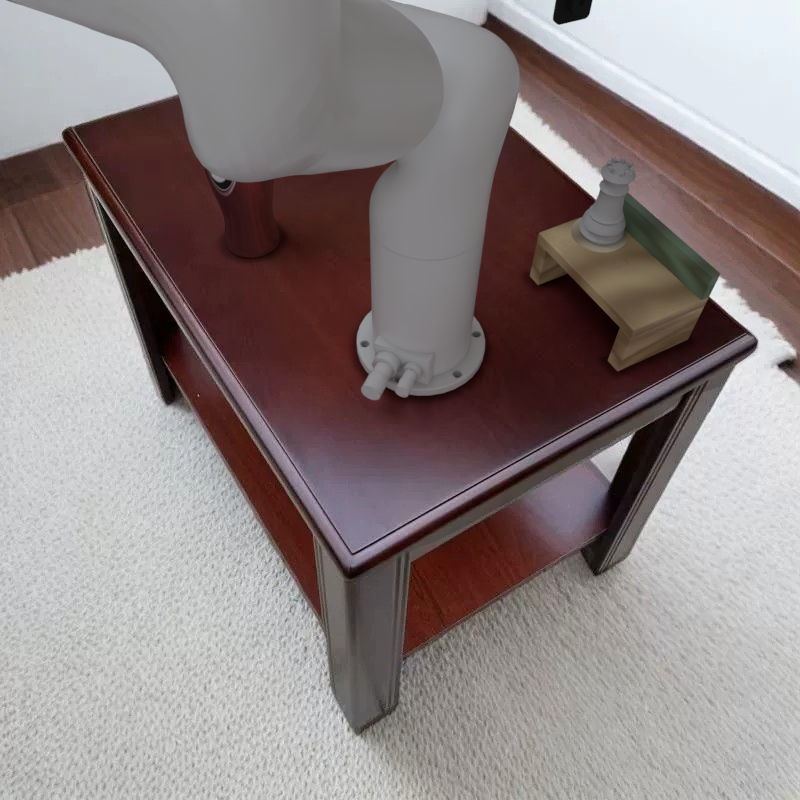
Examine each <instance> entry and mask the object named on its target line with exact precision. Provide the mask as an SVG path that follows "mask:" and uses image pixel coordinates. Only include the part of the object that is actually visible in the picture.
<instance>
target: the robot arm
mask: <svg viewBox="0 0 800 800" xmlns="http://www.w3.org/2000/svg"><path fill="white" fill-rule="evenodd" d="M6 2H10V3H12V4H16V5H19V6H22V7H24V8H28V9H31V10H34V11H36V12H40V13H43V14H46V15H49V16H53V17H56V18H58V19H62V20H65V21H68V22H70V23H73V24H76V25H78V26H82V27H84V28H87V29H89V30H92V31H94V32H96V33H97V32H98V33H100V34H104V35H106V36H108V37H111V38H115V39H118V40H121V41H124V42H128V43H131V44H133V45H136V46H137V47H139V48H141V49H143V50H145V51H146V52H148V53H149V54H150V55H152V56H153V58H154V59H155V60H156V61H158V63H160V65H161V66H162V67H163V69H164V71H166V73H167V74H168V76H169V78H170V80H171V82H172V84H173V85H174V88H175V90H176V92H177V95H178V98H179V101H180V105H181V109H182V115H183V120H184V127H185V131H186V133H187V134H186V135H187V138H188V141H189V144H190V147H191V149H192V151H193V154H194V156H195V157H196V159H197V160H198V161H199V163H200V164H201V166H203V168H204V167H205V168H206V169H208V170H209V171H210V172H211V173H213V174H214V175H217V176H219V177H221V178H224V179H226V180H231V181H237V182H259V181H266V180H271V179H274V180H275V179H280V178H284V177H285V178H286V177H291V176H308V175H310V176H311V175H320V174H327V173H334V172H342V171H344V172H345V171H351V170H361V169H368V168H369V169H370V168H374V167H377V166H378V167H379V166H383V165H386V164H389V163H391V164H390V165H389V166H388V167H387V168H386V169H385V170H384V171H383V173H382V174H381V175H379V177H378V179H377V181H376V182H375V184H374V186H373V188H372V191H371V194H370V198H369V205H368V206H369V207H368V215H369V216H368V217H369V219H368V221H369V254H370V255H369V257H370V259H369V260H370V299H371V301H370V303H371V309H370V311H369V312H368V313H367V314H366V315H365V316H364V318H363V319H362V321H361V322H360V325H359V327H358V330H357V333H356V354H357V357H358V360H359V363H360V364H361V366H362V367H363V370H364V371H365V372H366V373H367V374H368V375H367V377H366V378H365V380H364V382H363V384H362V386H361V387H360V392H361V394H362V395H363V397H365V398H366V399H369V400H371V401H379V400H380V399H381V397H382V395H383V394H384V391H385V389H386V388H387V389H388V390H391V391H393V392H394V393H395V394H396V395H397V396H399V397H401V398H408V397H409V396H417V397H420V396H421V397H423V396H424V397H425V396H435V395H442V394H445V393H447V392H451V391H454V390H456V389H458V388H459V387H461V386H463V385H465V384H466V383H467V382H469V380H471V379H472V378H473V377H474V376H475V375H476V374H477V372H478V371H479V369H480V367H481V365H482V363H483V361H484V355H485V351H486V337H485V333H484V330H483V327H482V325H481V324H480V322H479V320H478V319H477V318H476V316H475V306H476V299H477V293H478V286H479V278H480V271H481V264H482V256H483V250H484V249H483V248H484V241H485V236H486V235H485V234H486V227H487V226H486V225H487V220H488V212H489V206H490V199H491V192H492V188H493V183H494V179H495V174H496V169H497V166H498V162H499V158H500V155H501V152H502V149H503V146H504V143H505V140H506V136H507V134H508V131H509V127H510V125H511V122H512V119H513V117H514V116H513V115H514V112H515V109H516V105H517V101H518V96H519V92H520V91H519V90H520V84H521V83H520V80H521V78H520V77H521V76H520V68H519V63H518V61H517V58H516V56H515V54H514V52H513V51H512V50H511V48H510V47H509V45H508V44H507V43H506V42H505V41H504V40H502V38H500V37H499V36H498V35H497V34H496V33H494V32H493V31H490V30H489V29H487V28H485V27H483V26H481V25H478V24H477V23H474V22H472V21H469V20H466V19H463V18H460V17H456V16H453V15H451V14H447V13H442V12H438V11H435V10H431V9H427V8H424V7H420V6H417V5H413V4H408V3H402V2H399V1H395V0H6ZM592 4H593V0H555V3H554V9H553V14H552V21H553V22H554V24H556V25H558V26H560V25H564V24H570V23H573V22H576V21H582V20H586V19H587V18H588V17H589V16H590V14H591V10H592Z"/></svg>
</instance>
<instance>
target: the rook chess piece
mask: <svg viewBox="0 0 800 800" xmlns="http://www.w3.org/2000/svg"><path fill="white" fill-rule="evenodd" d="M634 164H635V163H634V162H633V160H629V161H628V162H627V157H624V156H621V158H620V160H618V157H617V156H613V157H611V158H610V159H608V160H607V162H606V164H605V165H603V166H602V167H601V168H600V175H601V178H602V180H601V181H600V182H599V184H598V186H599V192H598V195H597V197H596V199H595V201H594V203H593V204H592V205H590V206H589V208H588V209H586V211H584V213H583V215H582V216H581V217H582V221H581V223H580V225H579V226H580V231H581V233H582V235H583V236H584V237H585V238H586V239H587V240H588V241H590V242H592V243H594V244H598V245H609V244H613V243H615V242H617V241H618V240H620V239H621V238H622V237H623V234H624V228H625V226H626V221H625V217H624V213H623V203H624V197H625V194H627V193H629V191H630V187H629V184H631V183H633V182H634V181H635V179H636V178H637V175H636V171H635V166H634Z"/></svg>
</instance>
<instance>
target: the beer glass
mask: <svg viewBox="0 0 800 800" xmlns="http://www.w3.org/2000/svg"><path fill="white" fill-rule="evenodd" d="M203 169H204V173H205V176H206V178H207V181H208V183H209V185H210V188H211V191H212V193H213V195H214V198H215V199H216V202H217V204H218V206H219V209H220V211H221V213H222V217H223V223H224V243H225V246H226V248H227V250H228V251H229V252H230V253H232V254H233V255H235V256H237V257H241V258H245V259H255V258H261V257H265V256H266V255H268V254H270V253H272V252H274V251H275V250H276V249H277V247H279V244H280V242H281V231H280V229H279V226H278V224H277V221H276V219H275V215H274V209H273V208H274V205H273V200H274V199H273V198H274V186H275V185H274V183H275V182H274V181H275V179H271V180H266V181H259V182H237V181H231V180H226V179H224V178H221V177H219V176H217V175H214V174H213V173H211V172H210V171H209V170H208V169H206V168H205V167H204V166H203Z"/></svg>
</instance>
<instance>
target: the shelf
mask: <svg viewBox="0 0 800 800" xmlns="http://www.w3.org/2000/svg"><path fill="white" fill-rule="evenodd" d="M623 213H624V217H625V221H626V226H625V228H624V234H623V237H622V238H621V239H620V240H618V241H617V242H615V243H613V244H609V245H598V244H594V243H592V242H590V241H588V240H587V239H586V238H585V237H584V236H583V235H582V233H581V231H580V226H579V225H580V223H581V221H582V217H583V216H580V217H577V218H574V219H572V220H570V221H567V222H565V223H561V224H558V225H556V226H553V227H551V228H548V229H546V230H542V231H540V232H538V235H537V240H536V243H535V247H534V248H535V249H534V254H533V259H532V263H531V268H530V273H529V277H530V279H532V281H533V282H534V283H535V284H536V285H537V286H540V285H542V284H545V283H547V282H551V281H552V280H555V279H557V278H561V277H562V276H565V275H569V277H570V278H571V279H573V281H574V282H575V283H576V284H577V285H579V287H580V288H581V289H582V290H583V291H584V292H585V293H586V294H587V295H588V296H589V297H590V298H591V299H592V300H593V301H594V302H595V303H596V304H597V305H598V306H599V307H600V309H601V310H603V312H605V314H606V315H607V316H608V317H609V318H610V319H611V320H612V321H613V322H614V323H615V324H616V325H617V326H618V327H619V329H618V332H617V335H616V337H615V339H614V342H613V344H612V347H611V350H610V353H609V355H608V359H607V362H608V364H610V366H612V368H613V369H614V370H615V371H616V372H621V371H622V370H624V369H627V368H629V367H630V366H633V365H635V364H638V363H640V362H642V361H644V360H646V359H648V358H651V357H653V356H655V355H657V354H659V353H661V352H665V351H666V350H668V349H671V348H672V347H675V346H678V345H679V344H681V343H684V342H685V341H688V340H689V338H690V337H691V334H692V333H693V330H694V329H695V326H696V324H697V322H698V321H699V318H700V316H701V314H702V312H703V310H704V308H705V306H706V304H707V302H708V300H709V297H710V296H711V294H712V292H713V290H714V288H715V286H716V284H717V282H718V281H719V278H720V276H721V273H720V272H719V271H718V269H716V268H715V267H714V266H712V265H711V263H709V262H708V261H707V260H706V259H704V257H702V256H701V255H700V254H699V253H698V252H697V251H696V250H695V249H693V247H691V246H690V245H689V244H688V243H687V242H685V241H684V240H683V239H681V237H680V236H678V235H677V234H676V233H675V232H674V231H673V230H672V229H671V228H669V227H668V226H667V225H666V224H665V223H663V222H662V221H661V220H660V219H659V218H658V217H657V216H655V215H654V214H653V213H652V212H651V211H650V210H649V209H647V208H646V207H645V206H644V205H643V204H642V203H641V202H640V201H639V200H637V199H636V198H635V197H634V196H633V195H631V193H629V192H628V193H627V194H625V197H624V203H623Z"/></svg>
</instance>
